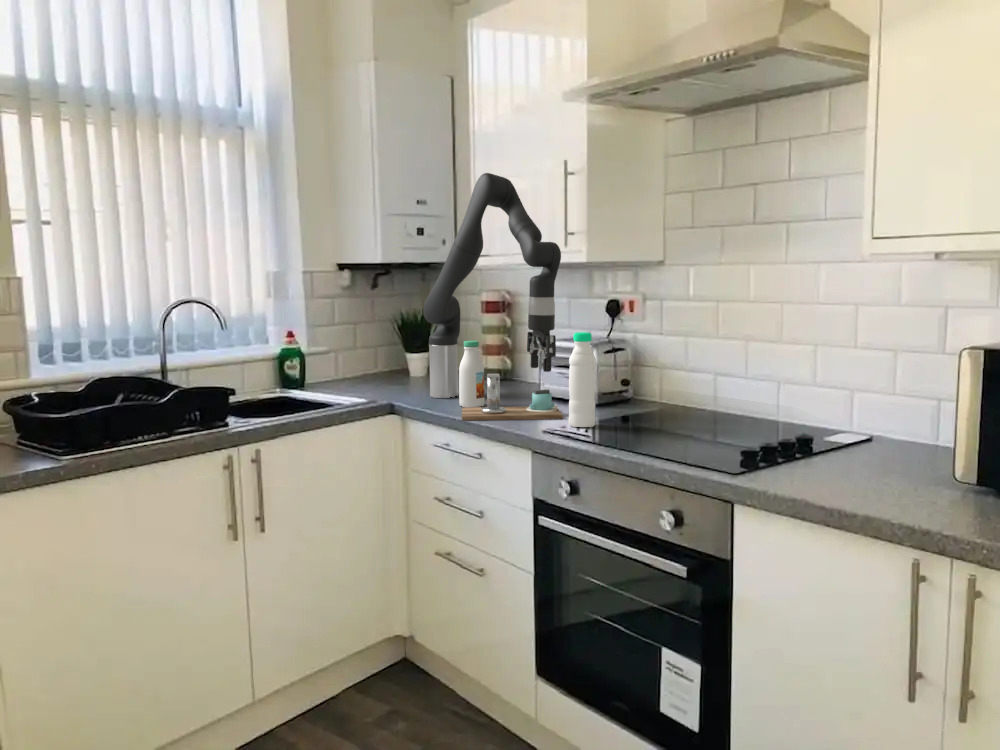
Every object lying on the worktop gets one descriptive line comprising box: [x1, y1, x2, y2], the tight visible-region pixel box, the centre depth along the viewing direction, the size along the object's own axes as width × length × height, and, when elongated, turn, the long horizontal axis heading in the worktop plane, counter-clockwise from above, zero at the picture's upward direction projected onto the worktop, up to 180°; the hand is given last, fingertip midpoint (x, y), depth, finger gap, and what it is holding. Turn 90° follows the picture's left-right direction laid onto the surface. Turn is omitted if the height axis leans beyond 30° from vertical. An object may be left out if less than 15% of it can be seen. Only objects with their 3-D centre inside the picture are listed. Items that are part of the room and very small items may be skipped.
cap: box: [529, 389, 555, 410], centre depth 229 cm, size 7×6×5 cm
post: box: [481, 373, 506, 414], centre depth 226 cm, size 7×7×11 cm
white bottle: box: [568, 331, 597, 428], centre depth 210 cm, size 7×7×25 cm
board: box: [461, 405, 563, 422], centre depth 228 cm, size 14×28×2 cm, turn 93°
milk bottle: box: [458, 340, 485, 408], centre depth 242 cm, size 8×8×20 cm
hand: (540, 369), depth 228 cm, fingers open, 8 cm apart
